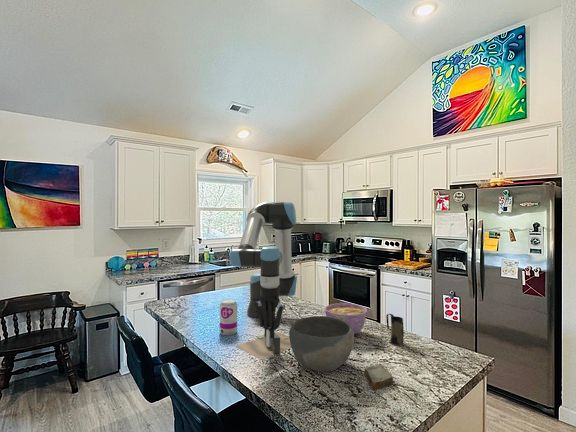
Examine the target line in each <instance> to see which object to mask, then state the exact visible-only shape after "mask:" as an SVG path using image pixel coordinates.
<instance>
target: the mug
mask: <svg viewBox="0 0 576 432" xmlns="http://www.w3.org/2000/svg"><path fill="white" fill-rule="evenodd" d="M389 316H390V324H391V325H390V326H389ZM386 327H387V330H389V331H390V339H389V343H390V345H392V346H395V347H396V346H397V347H401V346H404V337H405V336H404V335H405V333H404V330H405V328H404V318H403V317H401V316H395V315H394V314H392V313H387V314H386Z"/></svg>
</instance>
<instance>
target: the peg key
mask: <svg viewBox="0 0 576 432" xmlns="http://www.w3.org/2000/svg"><path fill="white" fill-rule="evenodd" d="M275 333H276V332H275V331H274V337H273V345H271V346H272V351H273V352H274V353H278V354H280V353H281V352H280V337H279V336H278V334H275ZM263 335H265V331H263ZM265 345H266V337H265Z"/></svg>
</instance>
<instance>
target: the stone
mask: <svg viewBox="0 0 576 432" xmlns="http://www.w3.org/2000/svg"><path fill="white" fill-rule="evenodd" d="M363 374H364V377H365V379H366V381H367V383H368V385H369V387H370V388H371V391H375V392H376V391H379V390H382V389H384V388H386V387H390V386H393V383H394V378H393V375H392V374H391V372H390V371H388V370H387V369H386V368H385V367H384V366H383V365H382V364H379V363H378V364H374V365H370V366H366V367H364V371H363Z"/></svg>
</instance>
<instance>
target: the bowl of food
mask: <svg viewBox="0 0 576 432" xmlns="http://www.w3.org/2000/svg"><path fill="white" fill-rule="evenodd" d="M324 311H325V316H326V317H332V318H336V319H340V320H343V321H345V322H347V323H348V324H349V325H350V326H351V327H352V329H353V331H354V335H355V334H358V333H360V332H361V331H362V330H363V329H364V326H365V325H364V324H365V323H366V317H367V313H368V308H366V307H364V306H362V305H359V304H353V303H344V302H342V303H341V302H339V303H332V304H328V305H326V306H325V307H324Z"/></svg>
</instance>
